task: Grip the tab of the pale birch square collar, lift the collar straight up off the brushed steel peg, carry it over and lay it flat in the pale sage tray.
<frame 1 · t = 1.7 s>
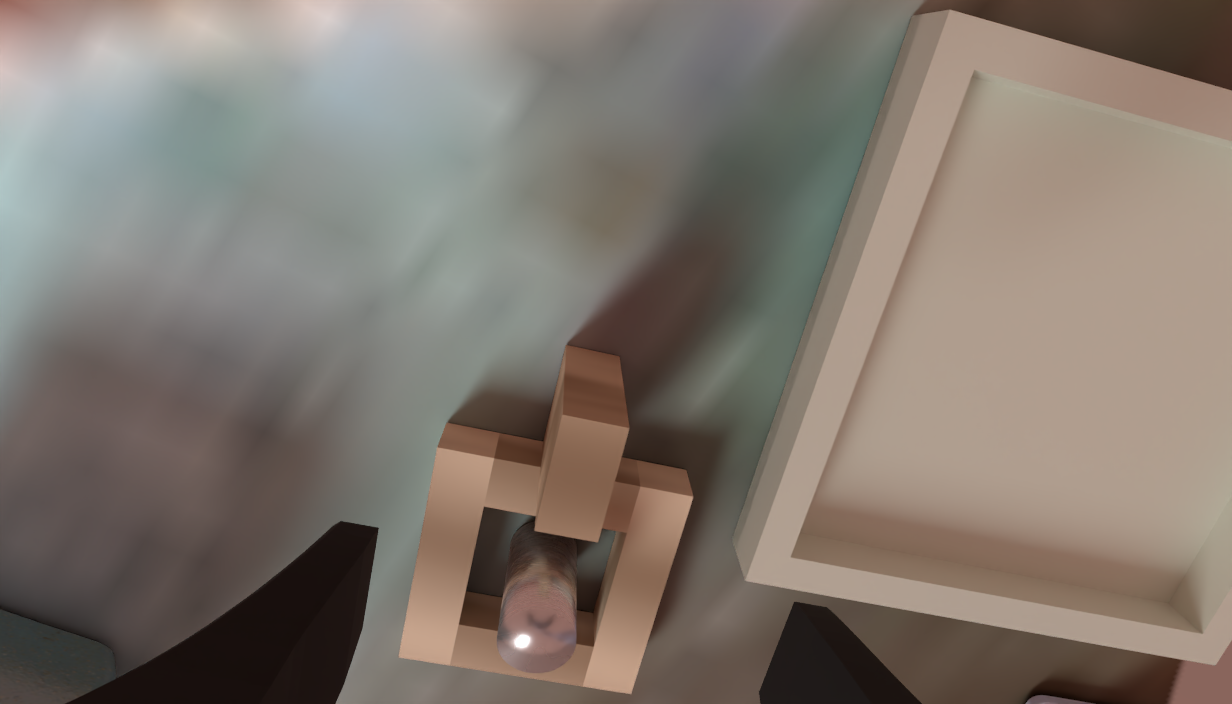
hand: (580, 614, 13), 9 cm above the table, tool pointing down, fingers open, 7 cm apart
collar: (543, 548, 23), on the table
peg: (543, 548, 23), on the table
flower pot: (21, 671, 24), on the table
tray: (1059, 365, 22), on the table
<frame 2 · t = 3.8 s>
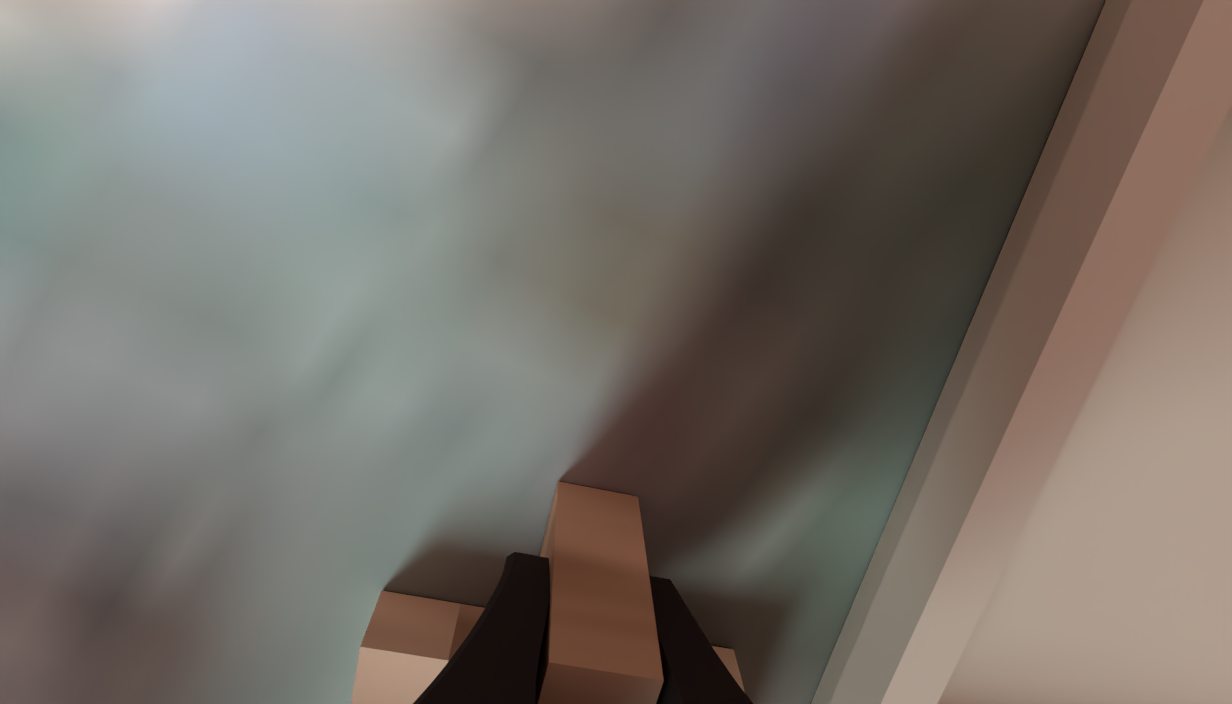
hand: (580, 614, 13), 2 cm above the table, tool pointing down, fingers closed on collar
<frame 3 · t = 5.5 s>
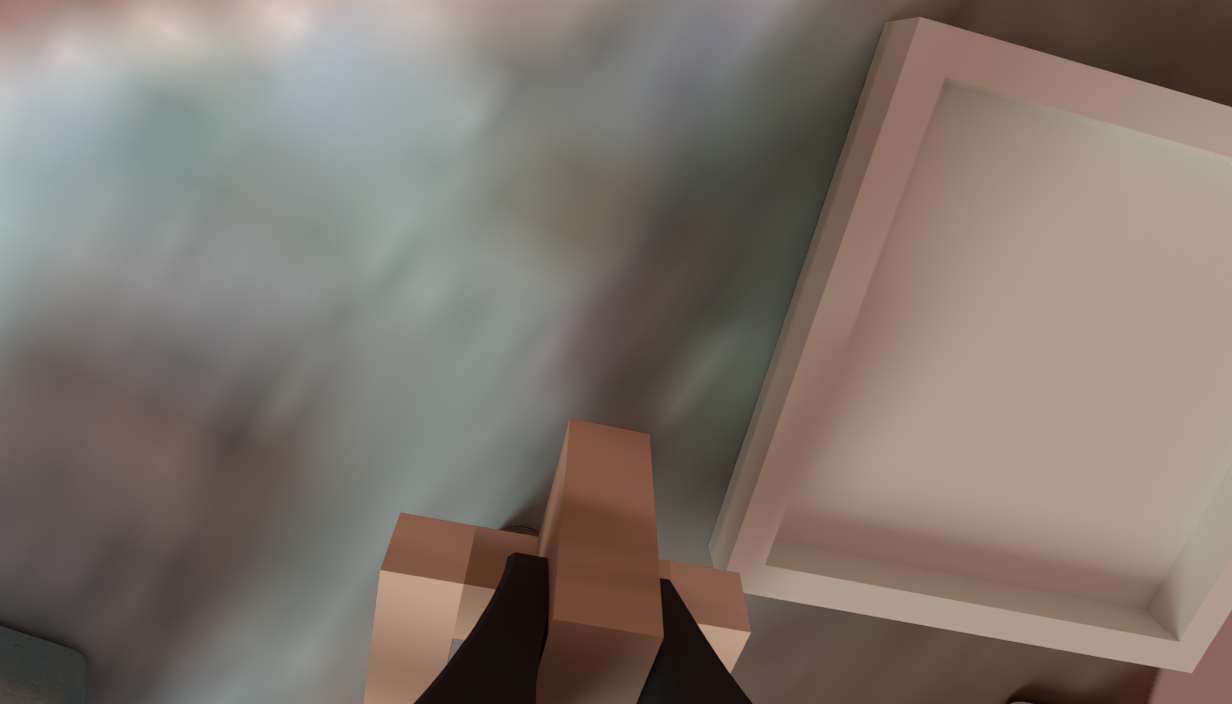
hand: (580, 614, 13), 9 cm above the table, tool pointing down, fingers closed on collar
collar: (541, 654, 17), point 6 cm above the table, tilted 10°, touching gripper
tray: (1035, 372, 22), on the table
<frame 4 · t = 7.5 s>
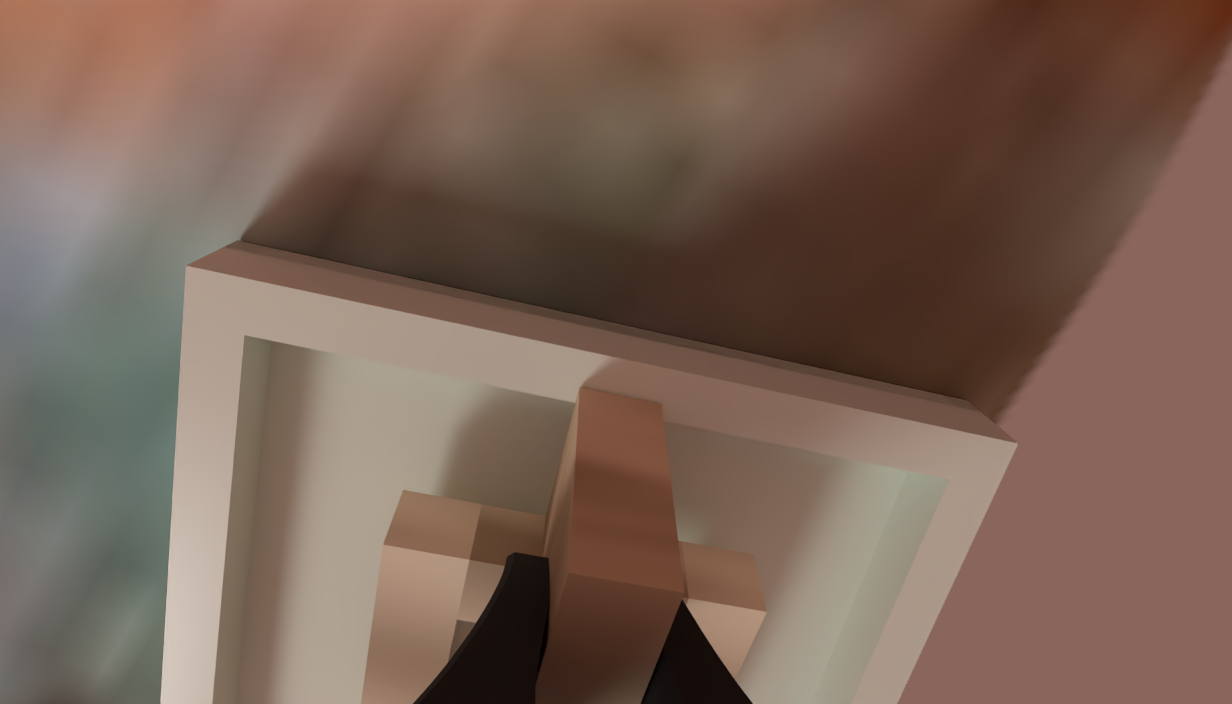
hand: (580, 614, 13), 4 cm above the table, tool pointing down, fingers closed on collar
collar: (547, 645, 17), point 1 cm above the table, tilted 8°, touching gripper, tray
tray: (546, 625, 18), on the table
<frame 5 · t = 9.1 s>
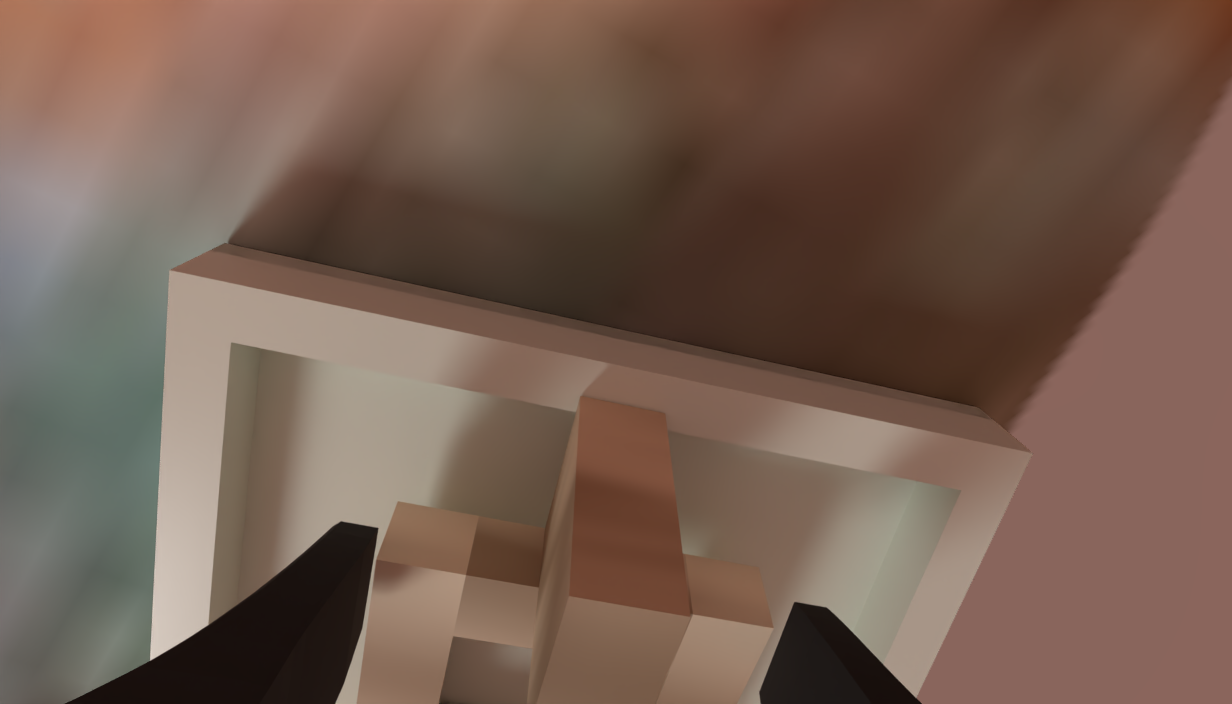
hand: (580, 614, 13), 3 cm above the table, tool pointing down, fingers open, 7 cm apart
collar: (546, 659, 16), point 1 cm above the table, tilted 8°, touching tray
tray: (545, 637, 17), on the table
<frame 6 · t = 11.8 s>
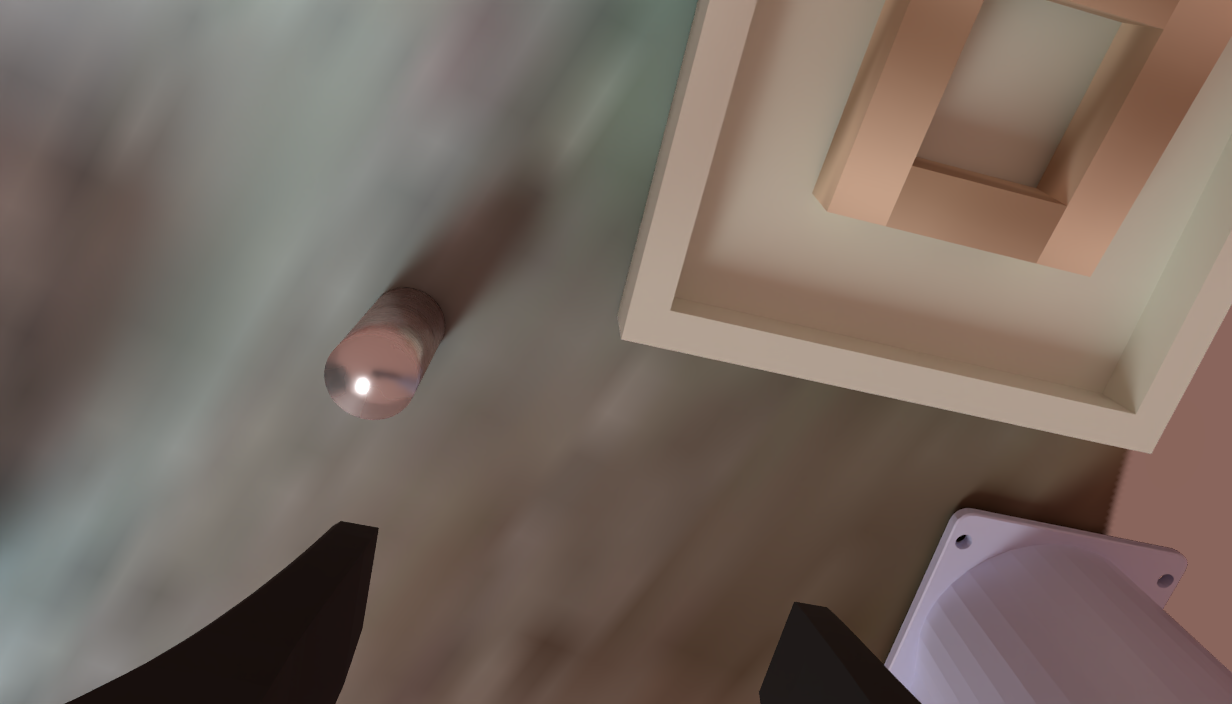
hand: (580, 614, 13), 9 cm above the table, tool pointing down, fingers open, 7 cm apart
collar: (1002, 88, 18), point 1 cm above the table, tilted 8°, touching tray
peg: (407, 323, 21), on the table
tray: (973, 104, 19), on the table
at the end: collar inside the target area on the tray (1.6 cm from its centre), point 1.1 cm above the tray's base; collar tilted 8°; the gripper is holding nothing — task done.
